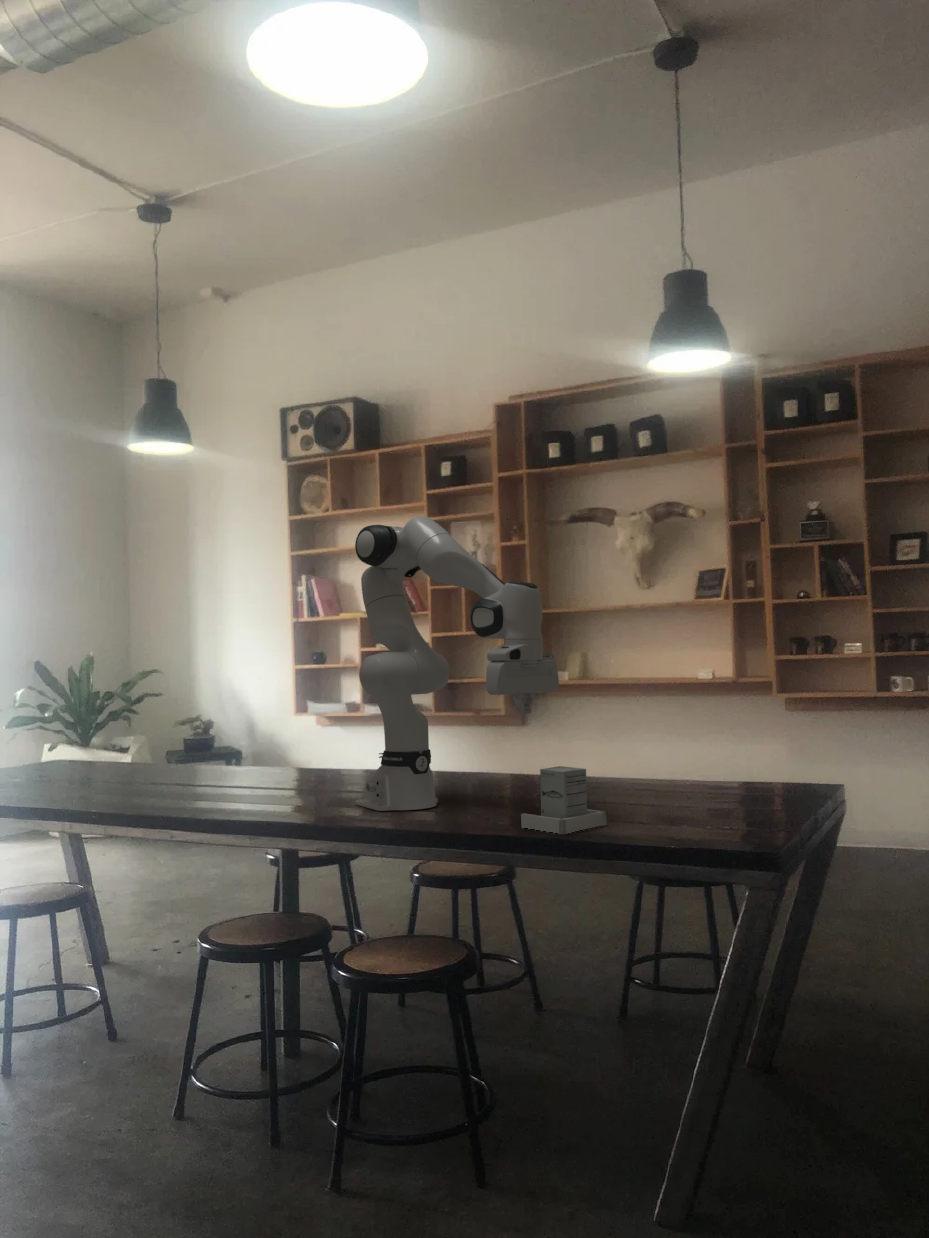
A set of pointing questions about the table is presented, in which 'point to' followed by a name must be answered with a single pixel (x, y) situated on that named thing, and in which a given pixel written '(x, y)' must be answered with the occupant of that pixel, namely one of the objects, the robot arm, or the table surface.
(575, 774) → the supplement box
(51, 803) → the table surface
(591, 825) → the bay
